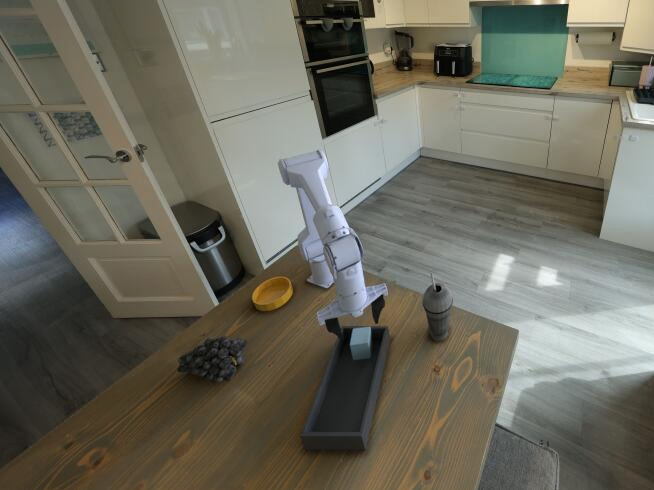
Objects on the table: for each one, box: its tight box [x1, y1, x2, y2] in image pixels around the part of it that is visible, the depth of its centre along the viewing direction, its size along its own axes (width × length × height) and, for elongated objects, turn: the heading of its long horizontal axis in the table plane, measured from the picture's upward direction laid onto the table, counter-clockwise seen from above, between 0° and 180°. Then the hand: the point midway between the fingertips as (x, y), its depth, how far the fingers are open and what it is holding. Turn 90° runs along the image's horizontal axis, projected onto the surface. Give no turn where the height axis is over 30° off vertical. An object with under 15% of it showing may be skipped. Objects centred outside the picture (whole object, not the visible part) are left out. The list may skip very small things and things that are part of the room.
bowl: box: [251, 276, 294, 312], centre depth 87 cm, size 9×9×3 cm
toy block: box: [350, 327, 373, 360], centre depth 73 cm, size 4×4×6 cm
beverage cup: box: [421, 272, 454, 342], centre depth 75 cm, size 7×7×20 cm
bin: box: [299, 325, 391, 451], centre depth 66 cm, size 21×11×5 cm, turn 0°
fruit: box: [176, 335, 248, 385], centre depth 69 cm, size 9×8×15 cm
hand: (359, 328), depth 71 cm, fingers open, 7 cm apart
